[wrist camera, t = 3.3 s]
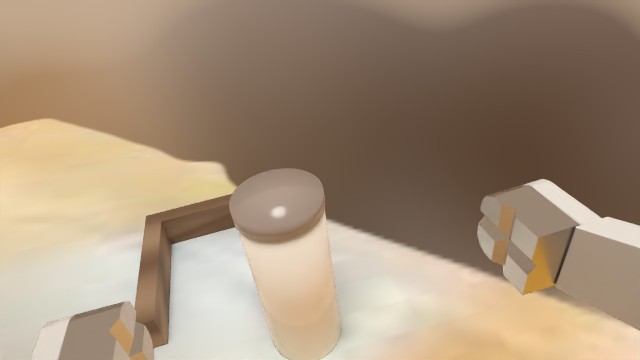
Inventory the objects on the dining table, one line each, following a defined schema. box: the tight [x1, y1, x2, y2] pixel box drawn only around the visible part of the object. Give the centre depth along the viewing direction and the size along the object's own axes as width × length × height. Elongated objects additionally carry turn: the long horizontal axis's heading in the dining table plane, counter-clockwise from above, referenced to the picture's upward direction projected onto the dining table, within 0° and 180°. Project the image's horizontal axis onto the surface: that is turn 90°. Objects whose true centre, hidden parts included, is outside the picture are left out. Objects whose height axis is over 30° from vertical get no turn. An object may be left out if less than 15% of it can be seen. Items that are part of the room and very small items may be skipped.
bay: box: [135, 194, 235, 348], centre depth 36 cm, size 13×13×3 cm
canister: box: [229, 168, 341, 360], centre depth 26 cm, size 5×5×13 cm
